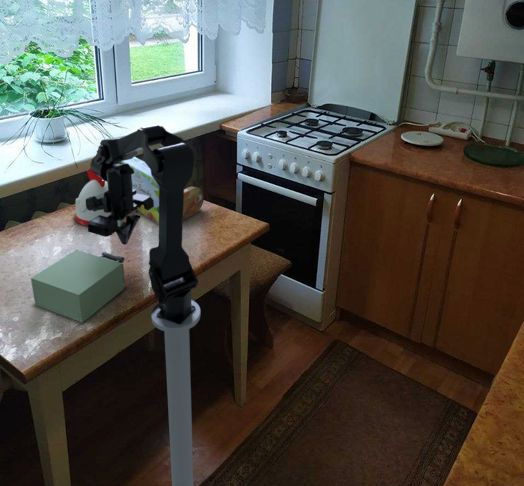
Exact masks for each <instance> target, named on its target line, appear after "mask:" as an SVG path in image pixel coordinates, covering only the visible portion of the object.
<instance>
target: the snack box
mask: <svg viewBox="0 0 524 486" xmlns="http://www.w3.org/2000/svg"><path fill="white" fill-rule="evenodd" d="M120 163H125V164H129V166H130V167H131V168H132V169H133V170H134V174H132V188H133V189H135V190H136V192H137V193H138V194H142V195H146V196H150V197H151V198H152V199H153V200H154V207H153V208H151V209H150V210H145V209H144V205H142V206H141V207H140V208H139V209H137V210H136V211H138V212H139V213H141V214H142V215H143V216H145V217H147V218H148V219H150V220H151V221H153V222H154V223H156V224H157V225H159V185H158V183H157V182H156V181H155V179H154V178H153V177H152V175H151V169H150V168H149V167H148V166H147V164H146V163H145V162H144V161H143V159H140V158H138V157H136V156H135V157H134V158H132V159H129V160H124V161H120Z"/></svg>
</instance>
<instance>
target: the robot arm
mask: <svg viewBox="0 0 524 486" xmlns="http://www.w3.org/2000/svg"><path fill="white" fill-rule="evenodd" d="M155 145H161V146H162V147H158V148H154V149H153V150H152V149H151V148H150V147H152V146H155ZM142 150H143V152H142V161H144V162H145V163H146V164H147V166H148V167H149V168H150V169H151V175H152V177H153V178H154V179H155V181H156V182H157V183H158V185H159V224H158V245H157V246H154V247H152V248H150V249H149V252H148V256H149V261H148V265H149V269H148V276H149V281H150V285H151V289H152V291H153V293H154V298H155V299H157V300H158V304H159V309H160V311H159V312H158V313H157V314H156V316H157V317H159V318H162V319H165V320H168V321H171V322H173V323H176V324H182V323H183V322H184V321H185V320H186V318H187V317H188V316H189V315H190V314H191V313H192V312H193V311H194V310H195V306H193V305H191V300H192V290H193V289H196V288H198V285H199V279H198V278H197V275H196V273H195V271H194V268H193V266H192V264H191V262H190V256H189V254H188V253H187V251H186V250H185V249H184V248H183V232H184V231H183V228H184V220H183V203H184V189H186V186H187V185H188V183H189V181H190V180H191V178H192V177H193V174H194V169H195V162H196V155H195V152H194V150H193V148H191V146H190V145H189V144H188V143H187V142H186V141H185V140H184V139H183V138H182V137H181V136H178V135H176V134H174V133H172V132H170V131H168V130H166V129H165V127H164V126H163V125H160V124H153V125H147V126H142V127H140V128H138V129H136V131H133V132H131V133H128V134H127V135H121V136H116V137H111V138H105V139H101V141H100V143H99V145H98V148H97V150H96V154H95V155H94V157H92V159H91V161H90V164H89V167H90V168H91V170H92V171H93V172H94V173H95V174H96V175H98V176H99V177H100V178H102V180H105V181H106V182H107V184H108V191H106V192H104V193H101V194H99V195H97V196H93V197H88V198H87V199H86V207H87V209H88V210H89V211H92V210H93V212H95V211H97V210H103V209H104V212H106V213H109V212H110V213H111V215H109V216H108V217H105V216H101V215H99V216H97V217H95V218H94V219H92V220H90V221H89V222H88V223H87V225H86V226H87V232H88V233H91V234H94V235H97V236H101V237H105V238H108V237H110V236H112V235H114V234H115V233H116V235H117V237H118V239H119V241H120V243H121V244H122V245H127V244H128V243H129V242H130V241H129V240H130V238H131V236H132V234H133V231H134V229H135V228H136V226H137V223H138V222H139V220H140V219H141V215H140V214H137V212H136V211H138V210H137V209H139V208H140V207H141V206H142V205H144V209H145V210H150V209H151V208H153V207H154V200H153V199H152V198H151V197H150V196H146V195H142V194H138V193H137V192H136V190H135V189H133V188H132V174H134V170H133V169H132V168H131V167H130V166H129V164H125V163H121V161H124V160H129V159H132V158H134V157H136V156H137V155H138V152H139V151H142Z"/></svg>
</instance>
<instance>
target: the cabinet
mask: <svg viewBox="0 0 524 486" xmlns="http://www.w3.org/2000/svg"><path fill="white" fill-rule="evenodd" d="M89 253H90V252H86V251H83V252H82V250H79V249H75V250H73V251H71V252H70V253H68V254H66V256H64V257H62V258H61V259H59V260H58V261H56V262H54V263H52V264H51V265H49V266H48V267H46V268H44V269H43V270H42V271H40V272H38V273H36V274H35V275H33V276H32V277H30V281H31V287H32V294H33V300H34V304H35V306H37V307H40V308H43V309H45V310H48V311H50V312H53V313H55V314H58V315H61V316H64V317H66V318H69V319H71V320H74V321H77V322H80V323H84V322H85V321H87V320H88V319H89V318H90V317H92V316H93V315H94V314H95V313H97V312H98V311H99V310H100V309H101V308H103V307H105V305H106V304H107V303H109V302H110V301H111V300H113V299H114V298H115V297H116V296H117V295H119V294H120V293H121V292H122V291H124V289H125V287H124V284H123V274H122V264H123V263H122V264H121V263H118V262H115V261H113V260H112V261H111V260H110V259H109V260H108V259H107V258H106V259H105V258H102V257H100V256H99V255H96V254H93V253H90V254H89ZM92 254H93V255H92ZM95 255H96V256H95ZM98 256H99V257H98Z"/></svg>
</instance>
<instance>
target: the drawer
mask: <svg viewBox="0 0 524 486" xmlns="http://www.w3.org/2000/svg"><path fill="white" fill-rule="evenodd" d="M81 251H82V250H81ZM82 252H84V250H83V251H82ZM88 253H89V254H92V255H95V256H98V257H102V258H105V259H108V260H111V261H115V262H118V263H121V264H122V274H123V285H124V284H125V269H124V262H125V258H124V257H123V256H120V255H117V254H113V253H109V252H107V251H102V253H101V255H100V256H99V255H96V254H93V253H90V252H88Z"/></svg>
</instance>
